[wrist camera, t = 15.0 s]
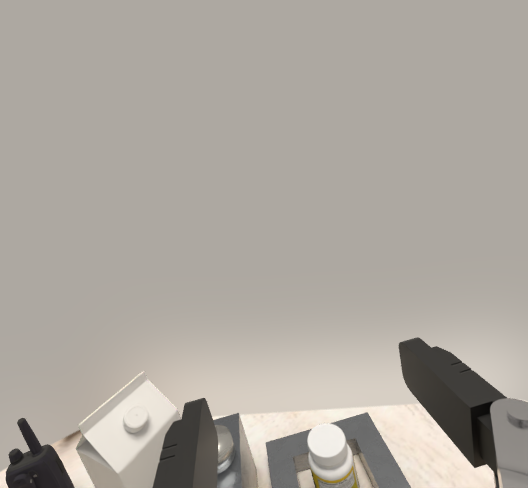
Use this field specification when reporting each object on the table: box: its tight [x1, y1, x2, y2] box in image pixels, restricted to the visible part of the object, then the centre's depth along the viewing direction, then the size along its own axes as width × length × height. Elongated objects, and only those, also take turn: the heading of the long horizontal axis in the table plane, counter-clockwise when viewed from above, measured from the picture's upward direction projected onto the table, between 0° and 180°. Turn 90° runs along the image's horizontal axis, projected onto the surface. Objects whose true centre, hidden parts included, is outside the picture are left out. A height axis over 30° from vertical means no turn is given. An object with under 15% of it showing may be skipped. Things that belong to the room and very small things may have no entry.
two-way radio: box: [6, 418, 74, 488], centre depth 37 cm, size 6×4×15 cm
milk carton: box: [76, 371, 181, 488], centre depth 32 cm, size 7×7×19 cm
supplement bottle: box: [307, 423, 360, 488], centre depth 32 cm, size 5×5×8 cm
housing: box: [213, 413, 411, 488], centre depth 32 cm, size 21×14×11 cm, turn 97°
